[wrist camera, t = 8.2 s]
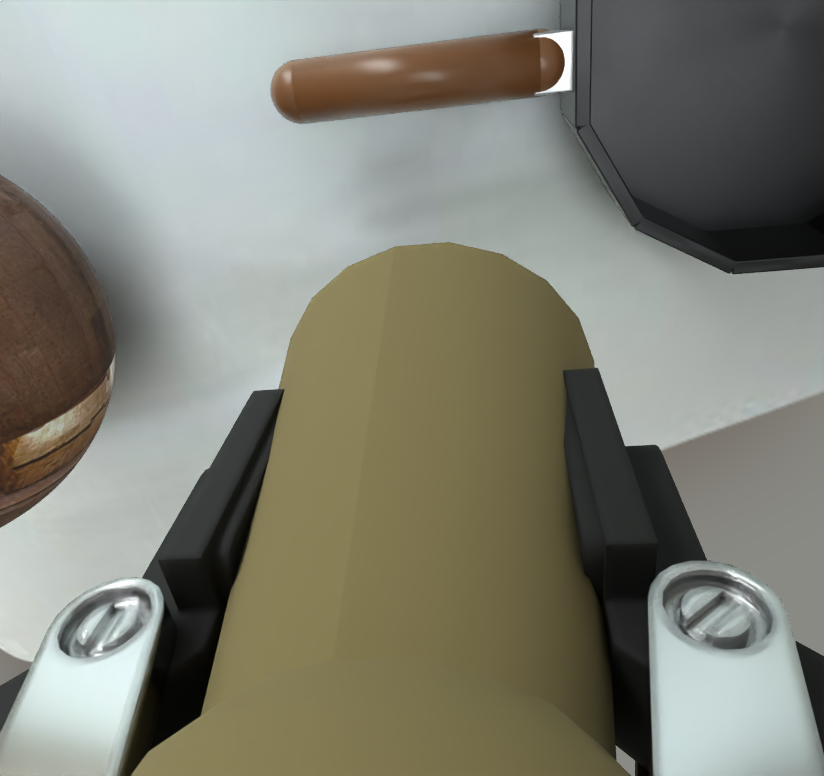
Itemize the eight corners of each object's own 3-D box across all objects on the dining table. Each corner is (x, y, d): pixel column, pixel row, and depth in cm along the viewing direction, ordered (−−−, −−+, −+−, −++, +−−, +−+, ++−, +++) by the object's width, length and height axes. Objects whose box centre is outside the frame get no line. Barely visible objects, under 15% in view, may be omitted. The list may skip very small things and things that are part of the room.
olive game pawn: (567, 522, 14) (751, 1529, 5) (292, 498, 15) (-40, 1407, 5) (625, 254, 11) (1422, 1550, 2) (276, 229, 12) (-609, 1247, 2)
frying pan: (327, 271, 29) (307, 308, 25) (245, -162, 22) (201, -194, 18) (949, 217, 26) (1025, 251, 22) (1101, -310, 18) (1250, -384, 15)
